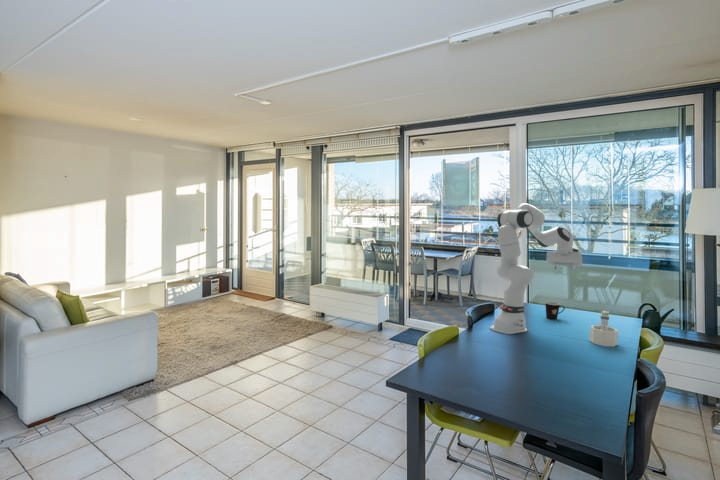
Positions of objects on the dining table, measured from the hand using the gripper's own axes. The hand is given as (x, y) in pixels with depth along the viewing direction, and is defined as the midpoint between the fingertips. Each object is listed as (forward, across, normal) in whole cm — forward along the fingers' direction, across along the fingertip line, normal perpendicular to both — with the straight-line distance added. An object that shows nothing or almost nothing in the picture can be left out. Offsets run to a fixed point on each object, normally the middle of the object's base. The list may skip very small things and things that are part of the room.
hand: (563, 269), depth 243 cm
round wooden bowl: (+42, +22, +8) cm, 48 cm away
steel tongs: (+40, +22, +8) cm, 47 cm away
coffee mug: (+14, -4, +36) cm, 39 cm away
